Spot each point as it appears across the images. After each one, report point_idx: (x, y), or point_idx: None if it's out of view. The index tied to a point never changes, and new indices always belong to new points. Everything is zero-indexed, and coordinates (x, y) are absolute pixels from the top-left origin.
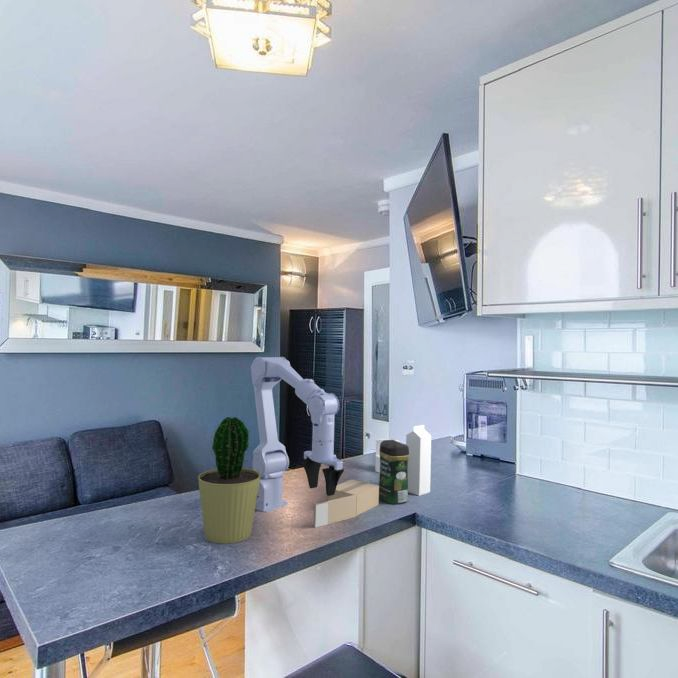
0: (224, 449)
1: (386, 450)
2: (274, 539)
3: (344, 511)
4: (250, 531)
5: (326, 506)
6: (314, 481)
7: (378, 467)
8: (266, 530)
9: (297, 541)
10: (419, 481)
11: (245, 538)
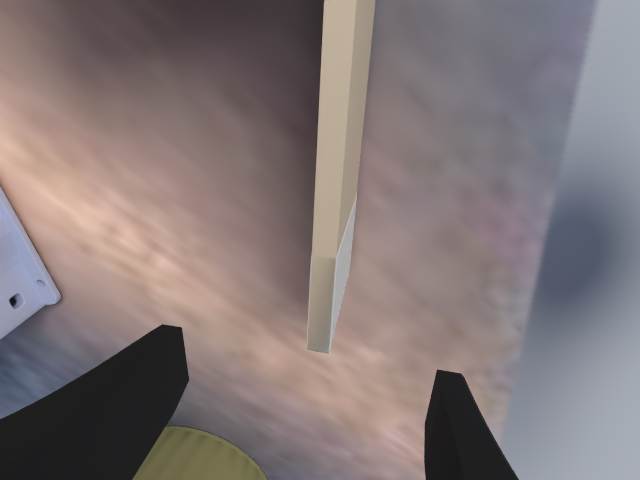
0: None
1: None
2: (327, 431)
3: (364, 57)
4: (246, 471)
5: (340, 257)
6: (150, 393)
7: None
8: (236, 399)
9: (404, 398)
10: None
11: (265, 478)
